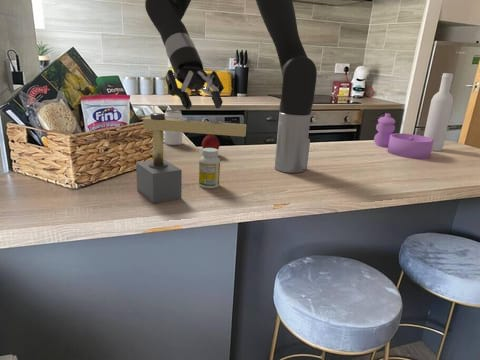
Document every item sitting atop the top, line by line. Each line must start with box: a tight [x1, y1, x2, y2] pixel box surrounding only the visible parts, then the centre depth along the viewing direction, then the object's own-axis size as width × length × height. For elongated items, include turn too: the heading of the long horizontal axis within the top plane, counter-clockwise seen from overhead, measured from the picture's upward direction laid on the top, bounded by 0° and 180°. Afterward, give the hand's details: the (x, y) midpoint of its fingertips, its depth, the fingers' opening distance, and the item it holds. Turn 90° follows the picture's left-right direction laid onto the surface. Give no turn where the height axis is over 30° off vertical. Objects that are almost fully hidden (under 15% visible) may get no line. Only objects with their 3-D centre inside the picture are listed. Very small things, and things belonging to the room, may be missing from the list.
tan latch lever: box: [142, 112, 247, 167], centre depth 87 cm, size 23×3×12 cm, turn 84°
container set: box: [373, 112, 434, 160], centre depth 149 cm, size 25×15×13 cm, turn 24°
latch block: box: [135, 159, 183, 204], centre depth 90 cm, size 7×10×7 cm
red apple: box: [201, 134, 221, 151], centre depth 127 cm, size 6×6×8 cm
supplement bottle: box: [198, 148, 221, 189], centre depth 98 cm, size 5×5×10 cm
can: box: [163, 109, 183, 146], centre depth 139 cm, size 6×6×12 cm
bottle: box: [423, 72, 454, 152], centre depth 152 cm, size 8×8×30 cm
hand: (204, 107), depth 93 cm, fingers open, 8 cm apart
